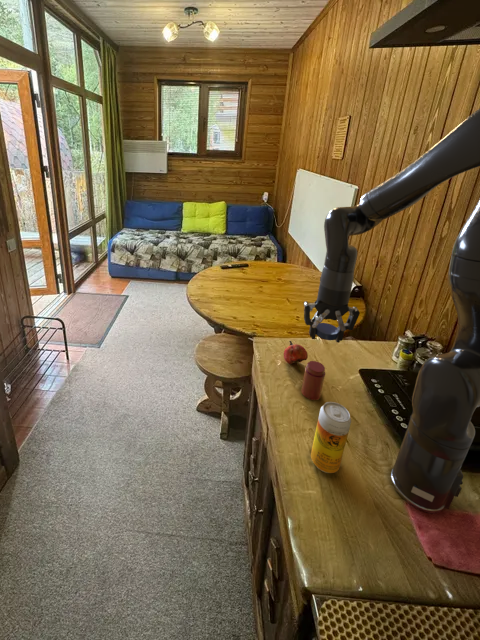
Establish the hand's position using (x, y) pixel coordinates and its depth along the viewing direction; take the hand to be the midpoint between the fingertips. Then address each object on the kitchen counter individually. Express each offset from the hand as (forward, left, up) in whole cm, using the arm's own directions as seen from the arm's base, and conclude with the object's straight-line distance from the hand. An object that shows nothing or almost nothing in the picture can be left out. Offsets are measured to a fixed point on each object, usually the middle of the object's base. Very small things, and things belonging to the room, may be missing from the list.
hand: (324, 339), depth 85 cm
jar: (+1, +1, -18) cm, 18 cm away
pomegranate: (+5, -11, -18) cm, 22 cm away
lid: (0, 0, +3) cm, 3 cm away
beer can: (+2, +23, -18) cm, 29 cm away
